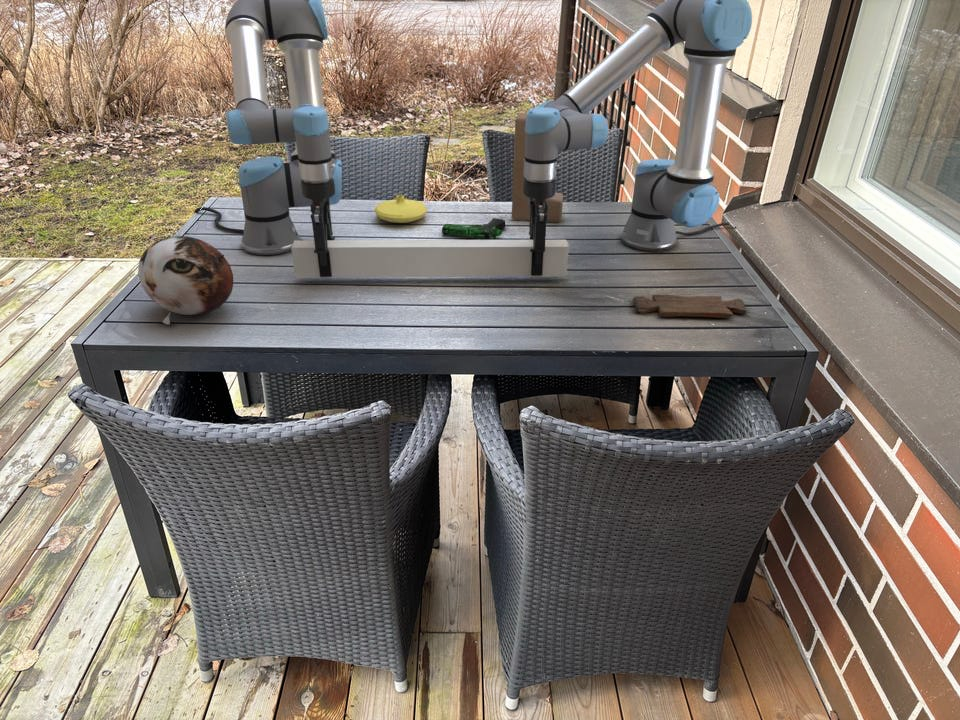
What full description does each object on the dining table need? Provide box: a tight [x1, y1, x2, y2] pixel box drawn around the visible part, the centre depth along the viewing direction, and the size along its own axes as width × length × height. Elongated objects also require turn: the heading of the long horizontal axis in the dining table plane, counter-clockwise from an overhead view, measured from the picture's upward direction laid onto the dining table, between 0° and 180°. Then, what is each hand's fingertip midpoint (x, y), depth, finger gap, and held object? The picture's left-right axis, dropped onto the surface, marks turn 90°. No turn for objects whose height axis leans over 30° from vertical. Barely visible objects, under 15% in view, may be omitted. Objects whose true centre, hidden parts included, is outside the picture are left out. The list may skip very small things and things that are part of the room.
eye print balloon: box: [137, 235, 234, 326], centre depth 158 cm, size 22×18×20 cm
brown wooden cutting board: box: [632, 294, 747, 319], centre depth 166 cm, size 26×2×10 cm
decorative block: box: [511, 112, 564, 223], centre depth 211 cm, size 8×15×30 cm, turn 82°
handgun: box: [441, 217, 506, 240], centre depth 207 cm, size 16×3×15 cm
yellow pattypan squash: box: [374, 194, 428, 224], centre depth 214 cm, size 16×16×7 cm
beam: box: [290, 239, 570, 279], centre depth 175 cm, size 67×4×8 cm, turn 92°
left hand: (327, 271), depth 176 cm, fingers closed on beam, 5 cm apart
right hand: (535, 270), depth 178 cm, fingers closed on beam, 5 cm apart
